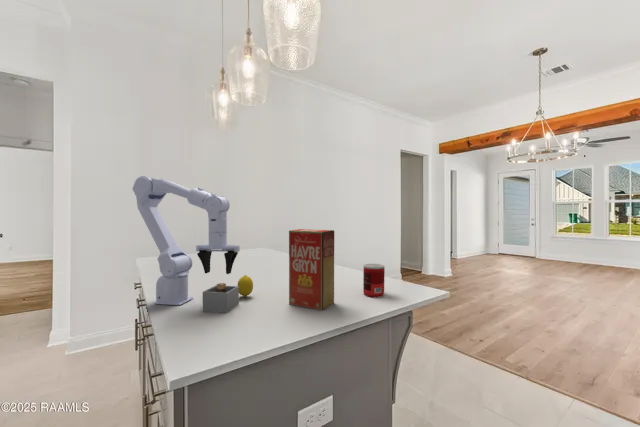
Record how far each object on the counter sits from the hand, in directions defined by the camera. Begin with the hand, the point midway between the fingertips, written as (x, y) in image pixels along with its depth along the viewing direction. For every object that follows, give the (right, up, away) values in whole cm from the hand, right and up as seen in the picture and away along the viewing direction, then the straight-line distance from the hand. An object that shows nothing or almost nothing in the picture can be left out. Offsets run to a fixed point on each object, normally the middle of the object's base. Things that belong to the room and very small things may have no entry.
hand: (217, 273), depth 98 cm
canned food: (+54, -11, +13) cm, 57 cm away
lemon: (+7, -11, +8) cm, 15 cm away
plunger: (+2, -10, -3) cm, 10 cm away
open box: (+2, -11, -3) cm, 11 cm away
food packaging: (+31, -11, +1) cm, 33 cm away
